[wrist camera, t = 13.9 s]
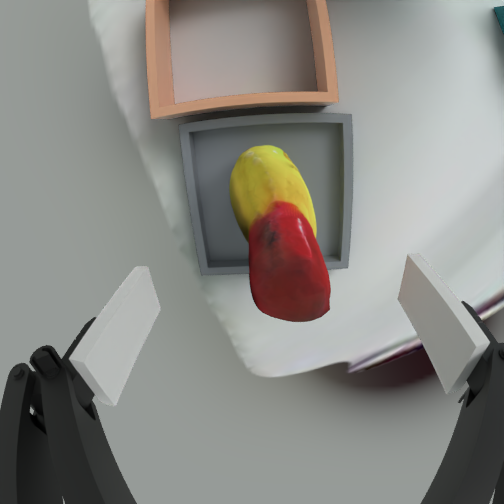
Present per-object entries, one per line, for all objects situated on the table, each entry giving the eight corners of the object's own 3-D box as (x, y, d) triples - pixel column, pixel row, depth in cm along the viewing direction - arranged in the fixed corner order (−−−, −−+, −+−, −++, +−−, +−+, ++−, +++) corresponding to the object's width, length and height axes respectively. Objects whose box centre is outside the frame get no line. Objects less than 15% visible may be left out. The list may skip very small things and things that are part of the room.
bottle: (313, 233, 32) (359, 365, 14) (262, 247, 33) (255, 387, 15) (286, 135, 27) (324, 150, 9) (229, 152, 28) (166, 199, 10)
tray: (185, 124, 28) (178, 124, 26) (345, 114, 26) (351, 114, 24) (205, 265, 36) (201, 275, 33) (343, 258, 34) (347, 268, 32)
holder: (161, -5, 20) (146, -21, 15) (310, -22, 18) (316, -41, 14) (168, 119, 27) (151, 118, 23) (327, 105, 26) (338, 102, 22)
